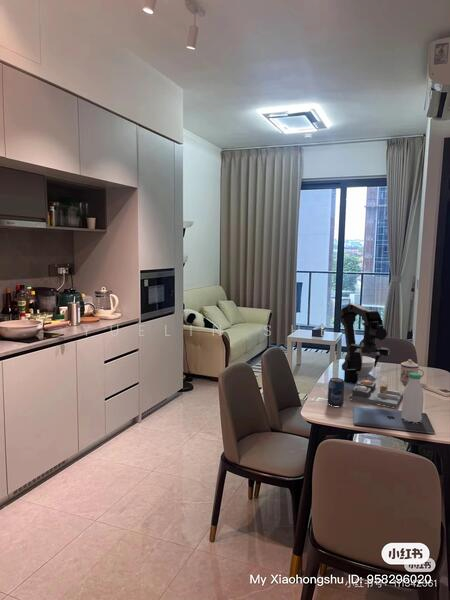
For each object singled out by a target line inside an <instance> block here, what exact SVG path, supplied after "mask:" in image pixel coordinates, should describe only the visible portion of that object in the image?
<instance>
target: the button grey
mask: <svg viewBox="0 0 450 600" xmlns="http://www.w3.org/2000/svg"><path fill="white" fill-rule="evenodd" d="M356 386H357V390H359V391H365V392H366V391H367V387H365V386H358V385H356Z"/></svg>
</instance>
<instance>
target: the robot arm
mask: <svg viewBox="0 0 450 600" xmlns="http://www.w3.org/2000/svg"><path fill="white" fill-rule="evenodd" d="M358 315H359V316H360V318H361V320H363V322H362V326H364V327H363V339H362V340H363V341H362V343H361V345H360V344H358V343H356V337H355V327H354V324H355V322H356V319H357V318H356V317H357V316H358ZM338 318H339V321H340V323H341V325H342V326H343V329H344V338H345V345H346V346H345V347H346V355H345V357H344V362H342V364H341V370H342V371H344V373H343V374H344V375H343V376H344V378H343V382H344V383H347V384H354V385H355V384H356V383H358V382H359V374H358V371H361V367H362V356H363V354H369V355H370V354H372V353H376V354H375V357H374V359H375V362H374V366H373V369H375V368H376V366H377V365H378V362H379V360H380V358H382V357H384V356H385V357H388V356H389V355H390V354H391V353H390V352H391V350H390V348H388V347H383V346H381V347H380V348H377V343H376V339H377V340H379V341H380V340H381V341H383V340H385V339H386V337H387V334H388V333H387V330H386V328H384V322H383V319H382V318H381V314H380V312H379V311H378V309H376V310H375V309H369V308H366V307H364V306H363V305H360V304H359V303H357V302H353V303H352V302H350V303H348V304H347V305H346V306H344V307H342V308H341V310H339V312H338Z"/></svg>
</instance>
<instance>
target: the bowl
mask: <svg viewBox="0 0 450 600" xmlns="http://www.w3.org/2000/svg"><path fill="white" fill-rule="evenodd" d="M374 363H375V358H372V357H370V356H365V355H362V367H361V371H358V374H359V375H358V377H359V376H360V377H363V376H364V377H367V376H368V375H369V374H370V372H371V371H372V370H373V369H374Z"/></svg>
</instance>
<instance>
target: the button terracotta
mask: <svg viewBox="0 0 450 600" xmlns="http://www.w3.org/2000/svg"><path fill="white" fill-rule="evenodd" d="M361 380H362V379H361ZM372 382H373V381H372V380H368V379H363V380H362V384H365V385H371V383H372Z"/></svg>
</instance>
